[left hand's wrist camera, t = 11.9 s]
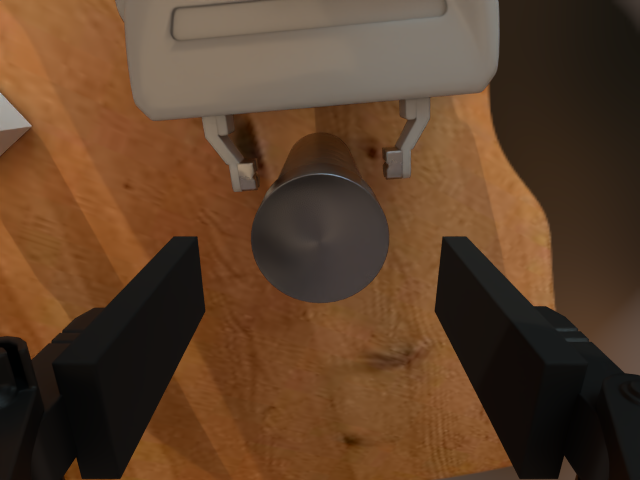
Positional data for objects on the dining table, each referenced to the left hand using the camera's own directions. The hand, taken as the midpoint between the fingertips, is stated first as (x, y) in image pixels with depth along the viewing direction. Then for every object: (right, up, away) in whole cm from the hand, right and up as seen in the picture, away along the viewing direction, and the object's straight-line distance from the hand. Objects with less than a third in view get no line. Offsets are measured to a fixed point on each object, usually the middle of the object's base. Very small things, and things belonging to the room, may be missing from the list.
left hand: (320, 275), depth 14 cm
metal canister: (0, +1, +3) cm, 4 cm away
